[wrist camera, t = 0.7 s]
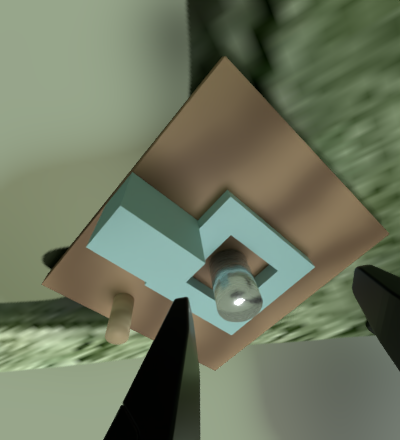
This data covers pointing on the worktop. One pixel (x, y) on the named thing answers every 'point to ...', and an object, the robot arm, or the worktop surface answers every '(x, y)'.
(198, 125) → the board
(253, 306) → the post
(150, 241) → the flange
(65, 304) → the worktop surface
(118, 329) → the dowel
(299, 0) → the worktop surface
